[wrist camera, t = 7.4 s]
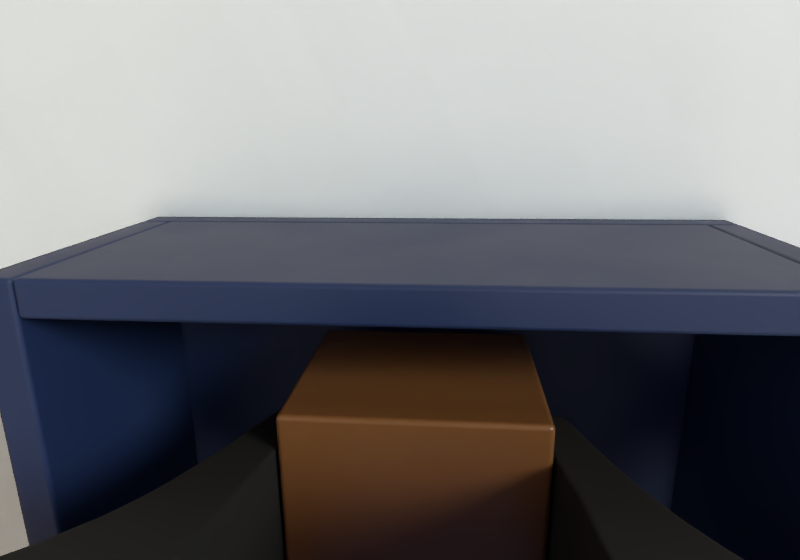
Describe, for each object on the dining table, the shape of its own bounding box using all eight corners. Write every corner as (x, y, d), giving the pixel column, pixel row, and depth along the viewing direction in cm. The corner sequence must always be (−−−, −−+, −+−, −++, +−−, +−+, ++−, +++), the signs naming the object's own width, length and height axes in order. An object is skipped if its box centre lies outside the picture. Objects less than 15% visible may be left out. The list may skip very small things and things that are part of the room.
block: (326, 328, 12) (273, 416, 8) (525, 333, 11) (556, 425, 8) (334, 497, 13) (290, 637, 9) (516, 506, 12) (540, 654, 9)
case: (156, 216, 13) (-32, 278, 8) (727, 219, 12) (928, 293, 7) (198, 559, 15) (76, 771, 10) (673, 587, 14) (792, 839, 9)
